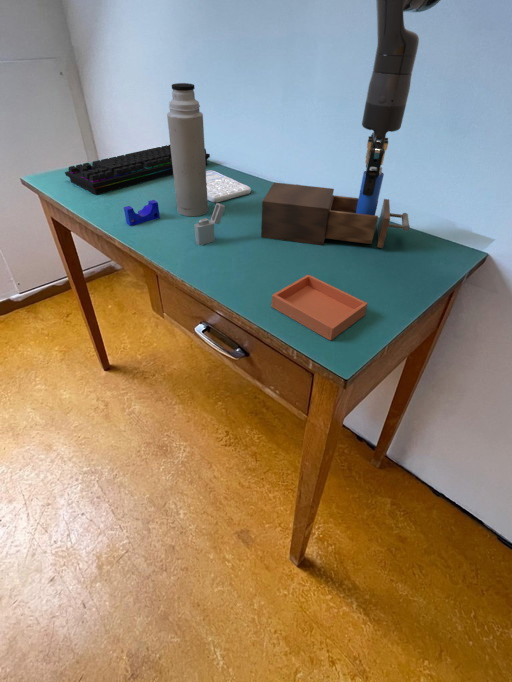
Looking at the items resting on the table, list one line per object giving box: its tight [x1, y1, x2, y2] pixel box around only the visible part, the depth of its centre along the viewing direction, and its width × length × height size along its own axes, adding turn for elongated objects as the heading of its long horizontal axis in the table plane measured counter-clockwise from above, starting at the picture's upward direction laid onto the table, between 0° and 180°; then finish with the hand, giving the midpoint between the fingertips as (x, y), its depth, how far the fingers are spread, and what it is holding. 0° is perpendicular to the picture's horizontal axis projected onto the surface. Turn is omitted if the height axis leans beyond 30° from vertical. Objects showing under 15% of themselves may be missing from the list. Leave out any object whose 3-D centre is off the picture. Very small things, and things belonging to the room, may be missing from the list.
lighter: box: [194, 202, 226, 246], centre depth 88 cm, size 7×2×8 cm, turn 125°
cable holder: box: [123, 199, 161, 227], centre depth 97 cm, size 8×4×4 cm, turn 130°
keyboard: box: [64, 144, 211, 196], centre depth 124 cm, size 42×16×5 cm, turn 137°
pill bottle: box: [356, 166, 385, 215], centre depth 88 cm, size 4×4×14 cm
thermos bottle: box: [166, 82, 209, 217], centre depth 94 cm, size 8×8×28 cm
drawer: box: [325, 194, 410, 249], centre depth 91 cm, size 18×11×7 cm, turn 76°
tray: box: [271, 274, 369, 342], centre depth 70 cm, size 13×10×3 cm
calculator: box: [206, 169, 252, 204], centre depth 115 cm, size 13×20×2 cm, turn 40°
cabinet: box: [260, 182, 335, 246], centre depth 93 cm, size 15×13×9 cm
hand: (367, 190), depth 86 cm, fingers closed on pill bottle, 4 cm apart
